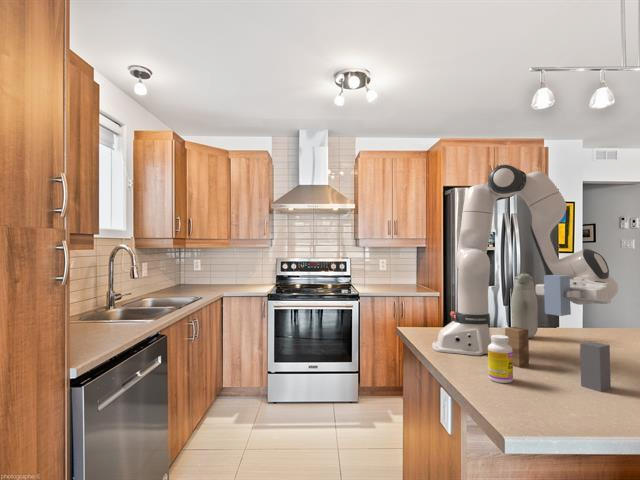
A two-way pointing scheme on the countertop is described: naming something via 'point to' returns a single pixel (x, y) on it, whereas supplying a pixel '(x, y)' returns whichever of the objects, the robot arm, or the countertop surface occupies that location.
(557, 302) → the slate-blue block
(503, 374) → the supplement bottle
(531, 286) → the grey-green tall rounded cylinder
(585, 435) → the countertop surface
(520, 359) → the walnut block
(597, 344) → the charcoal block
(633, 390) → the countertop surface
